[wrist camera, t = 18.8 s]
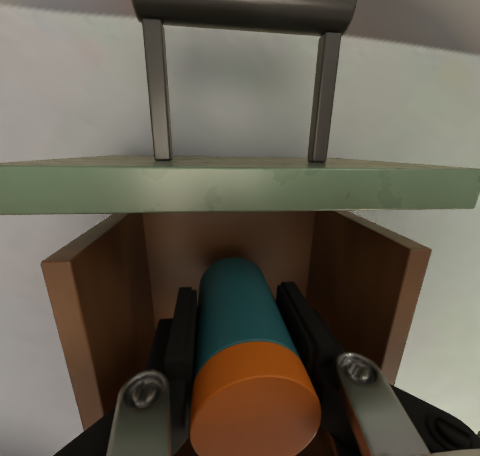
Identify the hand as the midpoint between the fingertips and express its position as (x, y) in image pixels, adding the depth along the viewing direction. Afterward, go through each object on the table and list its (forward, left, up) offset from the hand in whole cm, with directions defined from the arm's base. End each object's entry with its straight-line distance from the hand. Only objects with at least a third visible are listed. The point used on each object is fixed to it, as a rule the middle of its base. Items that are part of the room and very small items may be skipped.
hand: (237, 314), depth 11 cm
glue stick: (0, 0, -2) cm, 2 cm away
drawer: (0, -2, -6) cm, 6 cm away
